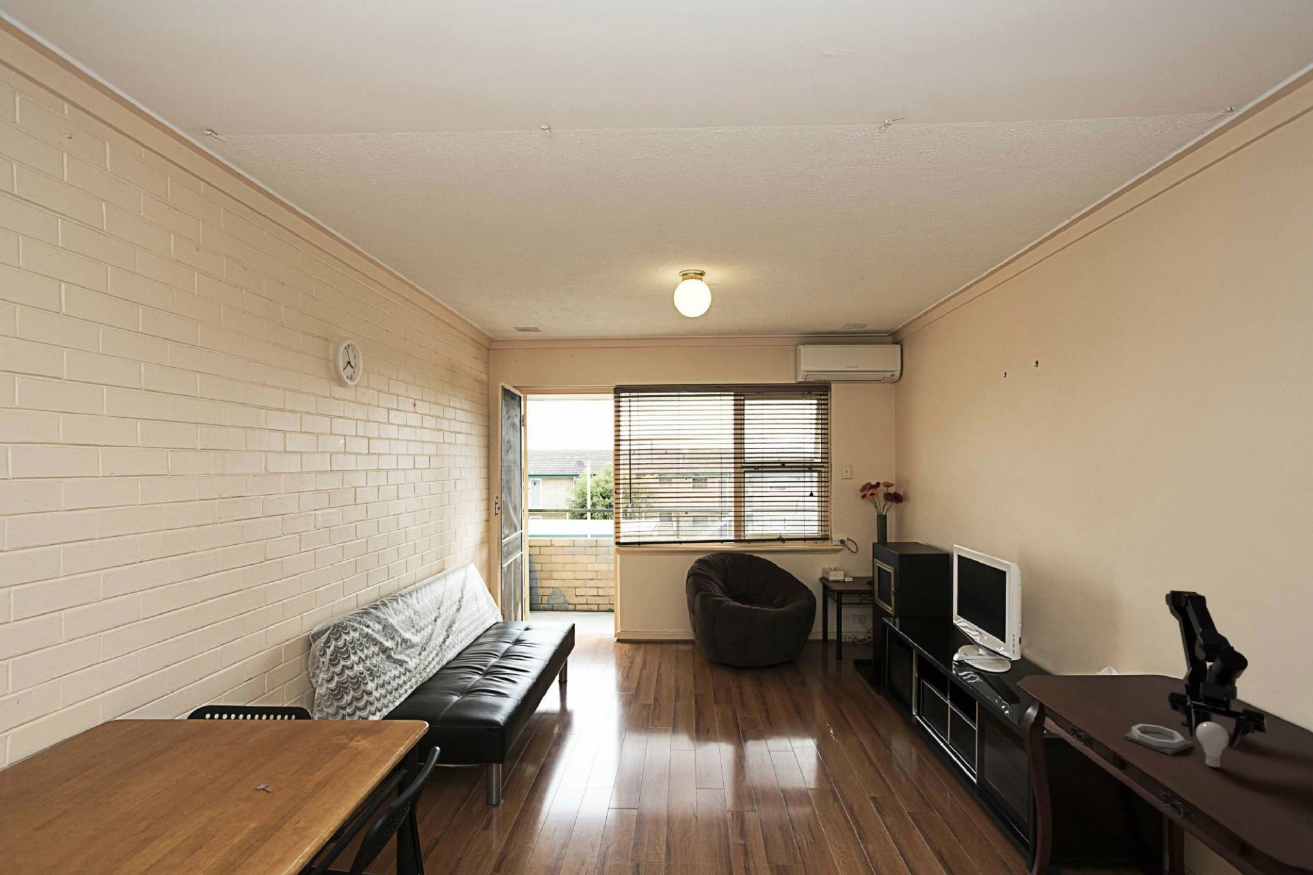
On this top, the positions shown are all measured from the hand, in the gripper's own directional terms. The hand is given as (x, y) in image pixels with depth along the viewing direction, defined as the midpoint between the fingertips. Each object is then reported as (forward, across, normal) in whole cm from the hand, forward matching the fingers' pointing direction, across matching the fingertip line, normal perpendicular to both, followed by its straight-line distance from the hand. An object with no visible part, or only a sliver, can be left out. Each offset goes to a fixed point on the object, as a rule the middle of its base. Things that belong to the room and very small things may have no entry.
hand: (1211, 742), depth 163 cm
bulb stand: (0, -12, +10) cm, 16 cm away
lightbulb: (+4, 0, +6) cm, 7 cm away
